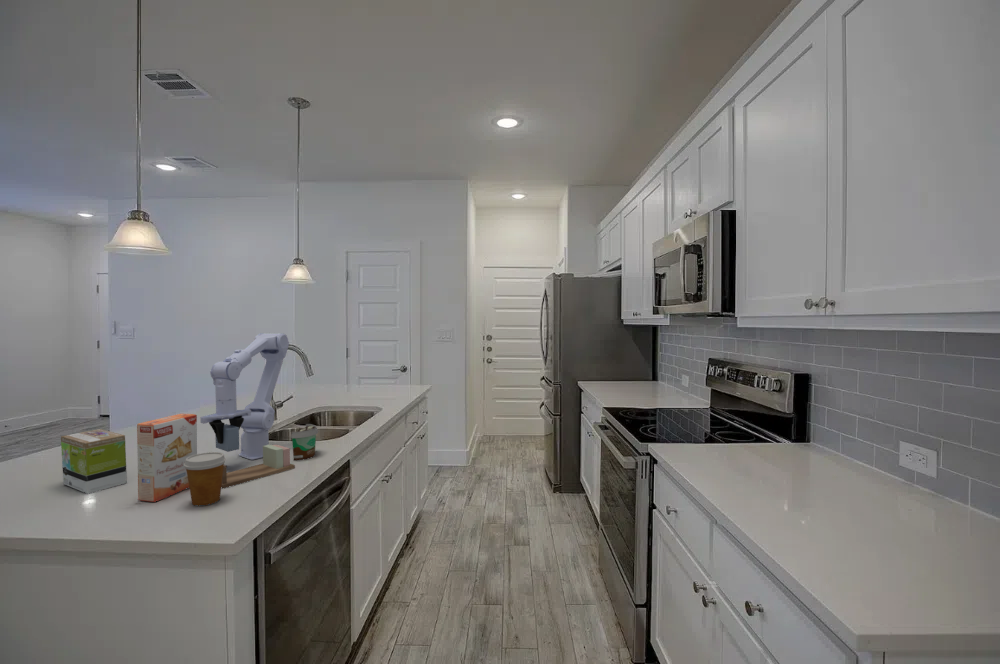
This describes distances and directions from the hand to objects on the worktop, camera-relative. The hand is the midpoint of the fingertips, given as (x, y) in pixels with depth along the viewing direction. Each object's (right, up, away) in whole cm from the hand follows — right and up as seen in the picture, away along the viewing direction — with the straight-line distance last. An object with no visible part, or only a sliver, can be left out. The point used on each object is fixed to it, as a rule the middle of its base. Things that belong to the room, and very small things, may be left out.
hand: (227, 441), depth 153 cm
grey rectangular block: (0, -2, 0) cm, 2 cm away
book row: (+15, -8, +2) cm, 17 cm away
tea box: (-31, -10, -13) cm, 35 cm away
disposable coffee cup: (+9, -10, -26) cm, 29 cm away
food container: (+20, -9, +14) cm, 26 cm away
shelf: (+11, -9, -5) cm, 15 cm away
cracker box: (-5, -10, -19) cm, 22 cm away
